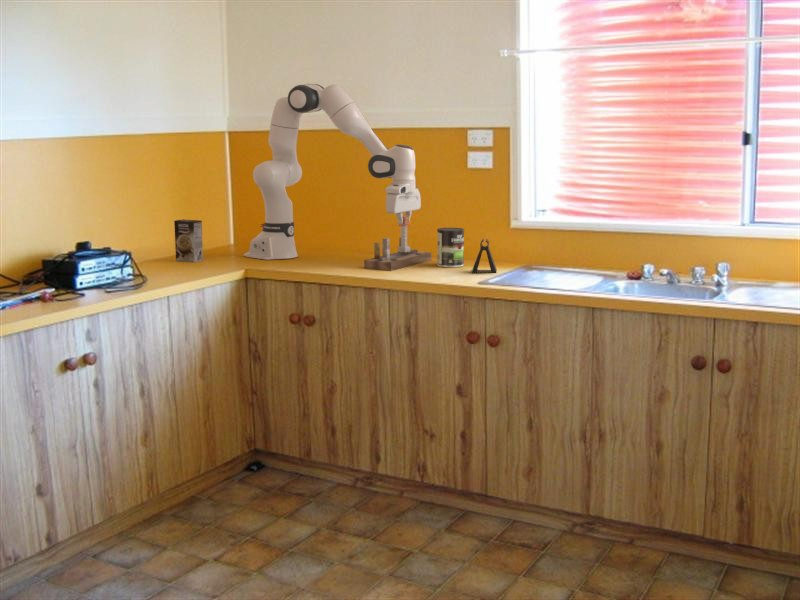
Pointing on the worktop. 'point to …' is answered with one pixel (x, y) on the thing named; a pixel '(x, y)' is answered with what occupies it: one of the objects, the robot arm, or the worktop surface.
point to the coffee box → (188, 240)
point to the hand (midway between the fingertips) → (404, 223)
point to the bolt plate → (394, 257)
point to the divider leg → (404, 235)
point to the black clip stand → (490, 259)
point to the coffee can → (450, 247)
